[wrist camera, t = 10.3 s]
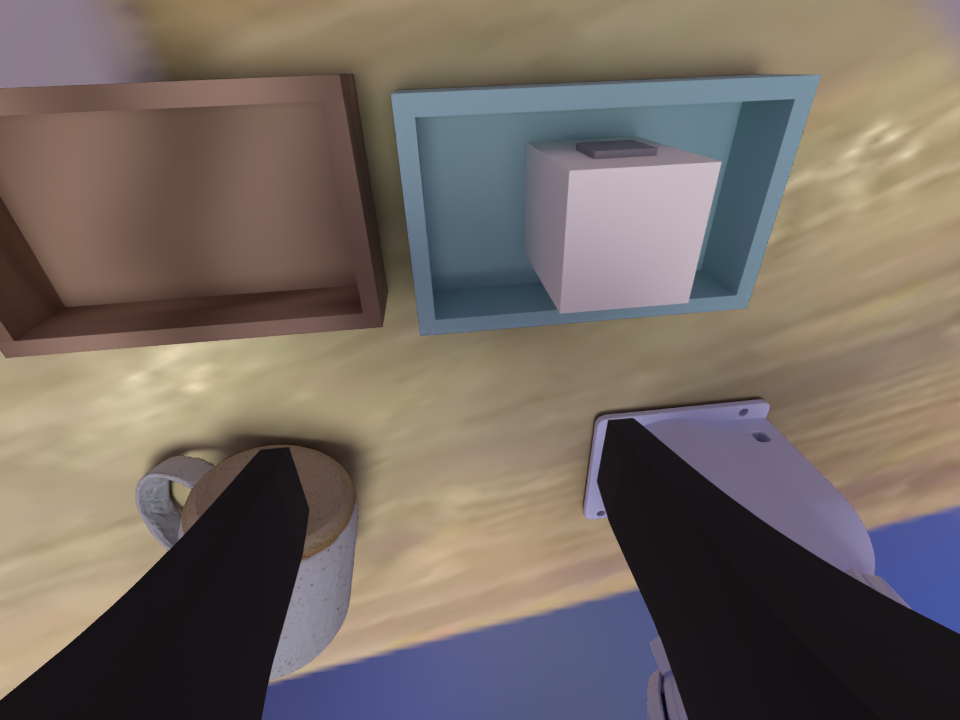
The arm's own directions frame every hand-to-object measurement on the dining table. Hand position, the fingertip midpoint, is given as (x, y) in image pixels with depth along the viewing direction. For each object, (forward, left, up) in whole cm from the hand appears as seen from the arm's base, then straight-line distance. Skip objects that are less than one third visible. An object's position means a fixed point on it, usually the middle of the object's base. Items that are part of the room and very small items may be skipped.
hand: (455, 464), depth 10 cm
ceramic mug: (+10, +11, -10) cm, 18 cm away
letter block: (-6, -3, -10) cm, 12 cm away
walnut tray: (+8, -4, -10) cm, 14 cm away
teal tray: (-6, -3, -10) cm, 12 cm away
